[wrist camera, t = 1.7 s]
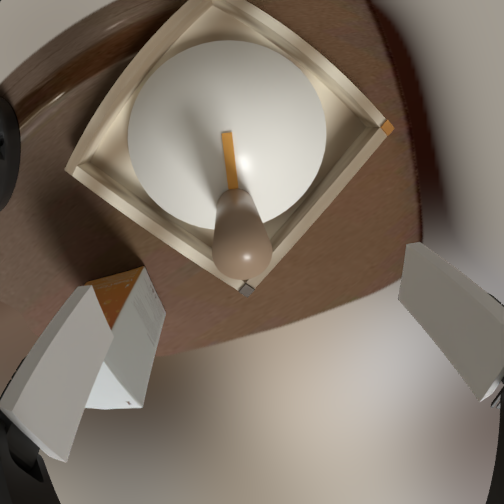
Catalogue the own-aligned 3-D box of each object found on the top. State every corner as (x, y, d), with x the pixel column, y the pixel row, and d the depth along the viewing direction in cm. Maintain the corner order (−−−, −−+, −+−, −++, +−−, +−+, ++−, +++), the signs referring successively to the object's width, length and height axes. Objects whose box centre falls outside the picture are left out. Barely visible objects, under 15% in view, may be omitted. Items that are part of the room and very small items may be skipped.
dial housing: (82, 164, 22) (63, 170, 18) (212, -2, 16) (210, -20, 13) (244, 277, 28) (247, 297, 25) (374, 127, 23) (394, 128, 19)
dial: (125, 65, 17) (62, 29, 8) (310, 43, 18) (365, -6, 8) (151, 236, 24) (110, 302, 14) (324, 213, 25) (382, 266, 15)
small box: (145, 263, 26) (100, 354, 15) (167, 313, 29) (145, 410, 17) (85, 280, 26) (29, 359, 15) (109, 324, 29) (72, 409, 17)
